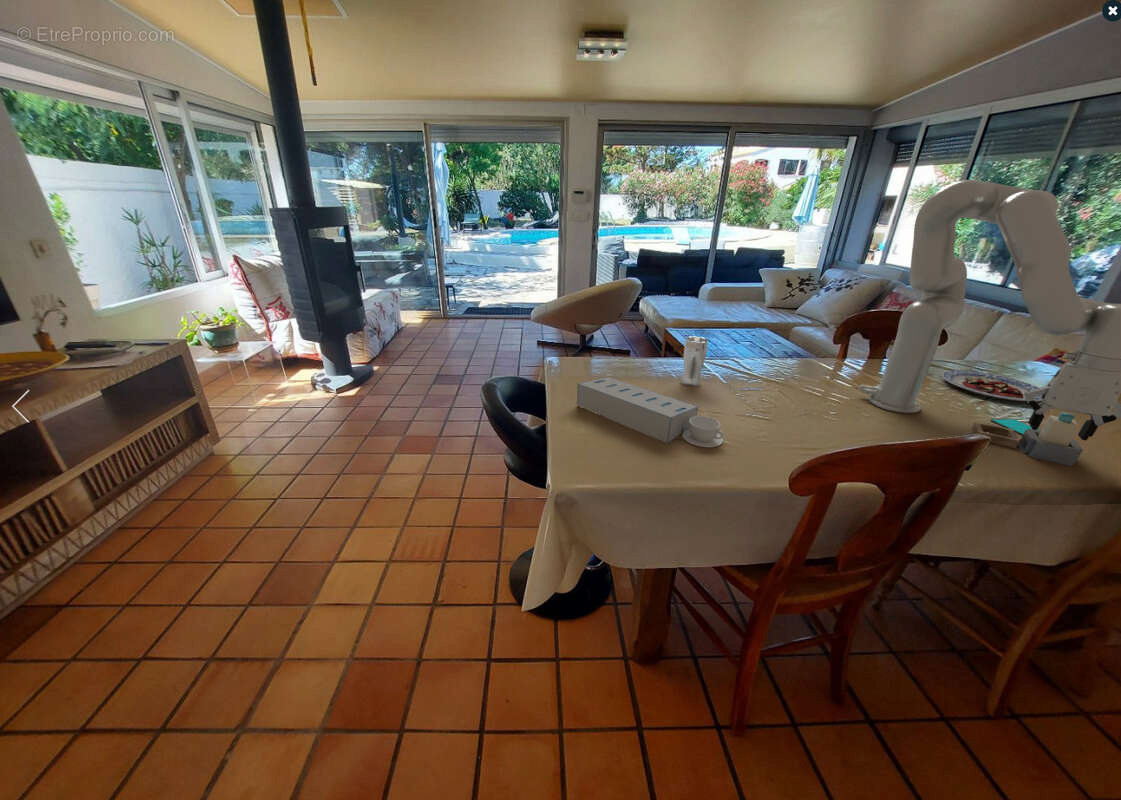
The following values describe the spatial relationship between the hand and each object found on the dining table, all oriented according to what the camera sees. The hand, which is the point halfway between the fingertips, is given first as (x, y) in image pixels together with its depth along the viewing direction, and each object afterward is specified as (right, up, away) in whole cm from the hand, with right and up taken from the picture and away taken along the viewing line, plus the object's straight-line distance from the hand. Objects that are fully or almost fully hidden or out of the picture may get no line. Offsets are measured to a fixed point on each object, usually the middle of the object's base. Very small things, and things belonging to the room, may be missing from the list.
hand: (1057, 432), depth 99 cm
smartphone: (+7, -2, +12) cm, 14 cm away
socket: (0, -5, +2) cm, 6 cm away
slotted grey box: (-97, +3, +19) cm, 99 cm away
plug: (0, -5, +3) cm, 6 cm away
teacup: (-82, -2, +7) cm, 82 cm away
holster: (-6, -2, +9) cm, 11 cm away
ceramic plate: (+24, +11, +39) cm, 48 cm away
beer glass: (-74, +13, +41) cm, 86 cm away
